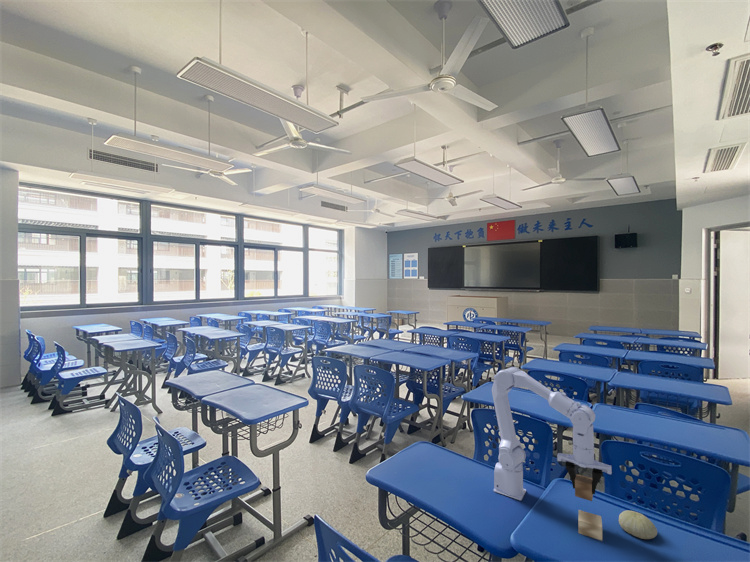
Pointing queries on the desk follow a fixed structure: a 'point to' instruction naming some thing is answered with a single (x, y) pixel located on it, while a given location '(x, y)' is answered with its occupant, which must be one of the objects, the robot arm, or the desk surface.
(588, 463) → the robot arm
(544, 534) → the desk surface
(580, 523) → the beech base
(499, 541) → the desk surface
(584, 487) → the walnut block
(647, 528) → the sea urchin shell
